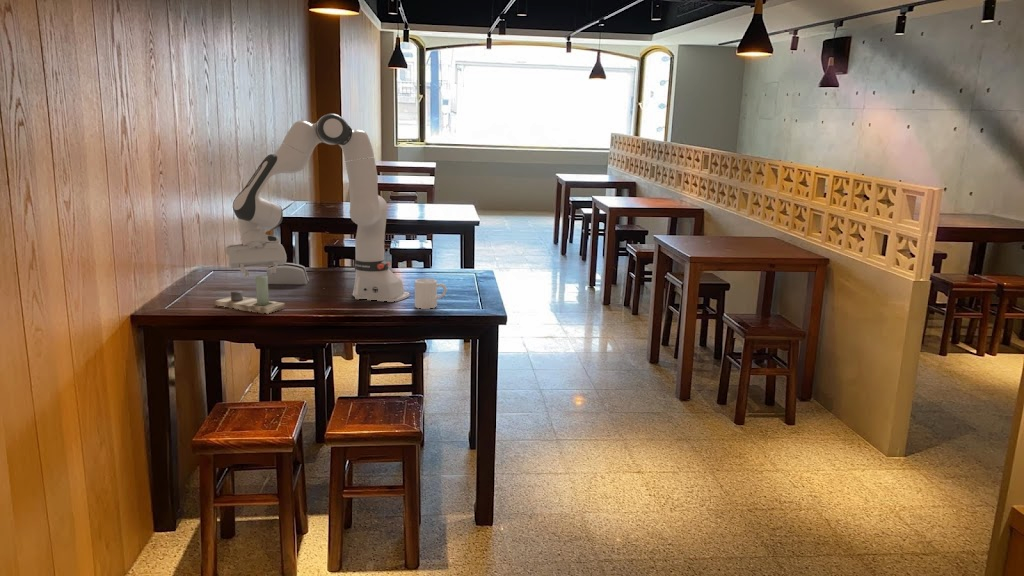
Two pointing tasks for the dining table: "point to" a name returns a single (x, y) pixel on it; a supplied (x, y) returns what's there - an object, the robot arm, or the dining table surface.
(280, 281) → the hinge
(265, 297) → the peg
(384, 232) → the robot arm
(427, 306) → the mug
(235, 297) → the hole plate
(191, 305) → the dining table surface
